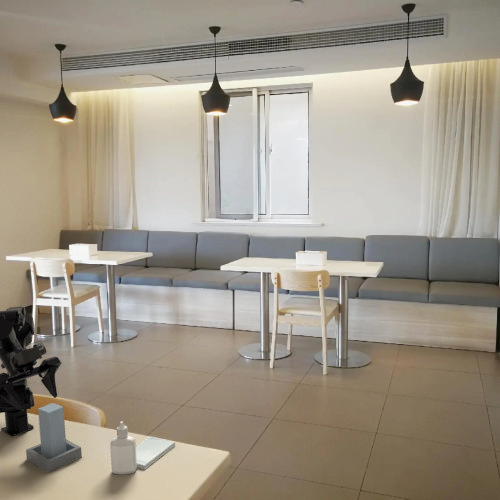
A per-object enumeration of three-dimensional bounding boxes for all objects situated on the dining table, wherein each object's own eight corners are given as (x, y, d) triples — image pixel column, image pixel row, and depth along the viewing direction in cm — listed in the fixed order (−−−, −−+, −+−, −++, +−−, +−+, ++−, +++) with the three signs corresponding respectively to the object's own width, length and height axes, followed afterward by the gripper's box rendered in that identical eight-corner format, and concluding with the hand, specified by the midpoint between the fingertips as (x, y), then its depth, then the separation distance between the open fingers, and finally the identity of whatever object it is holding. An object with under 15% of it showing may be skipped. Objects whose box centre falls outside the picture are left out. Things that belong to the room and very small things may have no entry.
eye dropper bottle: (127, 478, 119) (124, 428, 117) (108, 472, 121) (105, 423, 120) (140, 469, 122) (137, 420, 121) (122, 463, 125) (119, 416, 124)
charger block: (42, 459, 128) (38, 408, 127) (56, 452, 132) (52, 402, 130) (52, 464, 126) (48, 412, 124) (67, 457, 129) (63, 406, 128)
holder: (26, 459, 128) (25, 449, 128) (60, 444, 135) (59, 435, 135) (47, 472, 122) (46, 462, 122) (81, 456, 129) (81, 447, 129)
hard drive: (149, 435, 137) (117, 457, 126) (175, 441, 133) (144, 464, 122) (149, 441, 137) (117, 464, 126) (175, 447, 133) (145, 471, 122)
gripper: (-14, 344, 123) (16, 399, 118) (54, 326, 139) (84, 373, 134) (-29, 371, 129) (0, 424, 124) (39, 350, 144) (67, 397, 139)
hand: (40, 403), depth 130 cm, fingers open, 9 cm apart
